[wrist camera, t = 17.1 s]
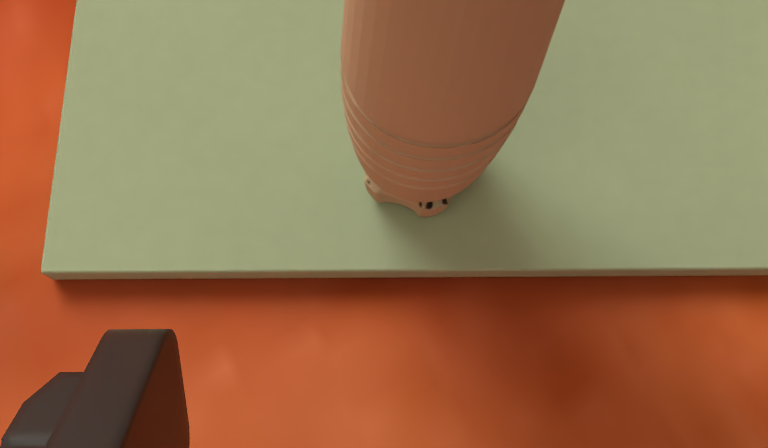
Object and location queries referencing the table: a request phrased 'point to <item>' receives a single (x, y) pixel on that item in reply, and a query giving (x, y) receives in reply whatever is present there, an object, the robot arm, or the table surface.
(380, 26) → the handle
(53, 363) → the table surface
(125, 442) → the robot arm
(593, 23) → the mat
